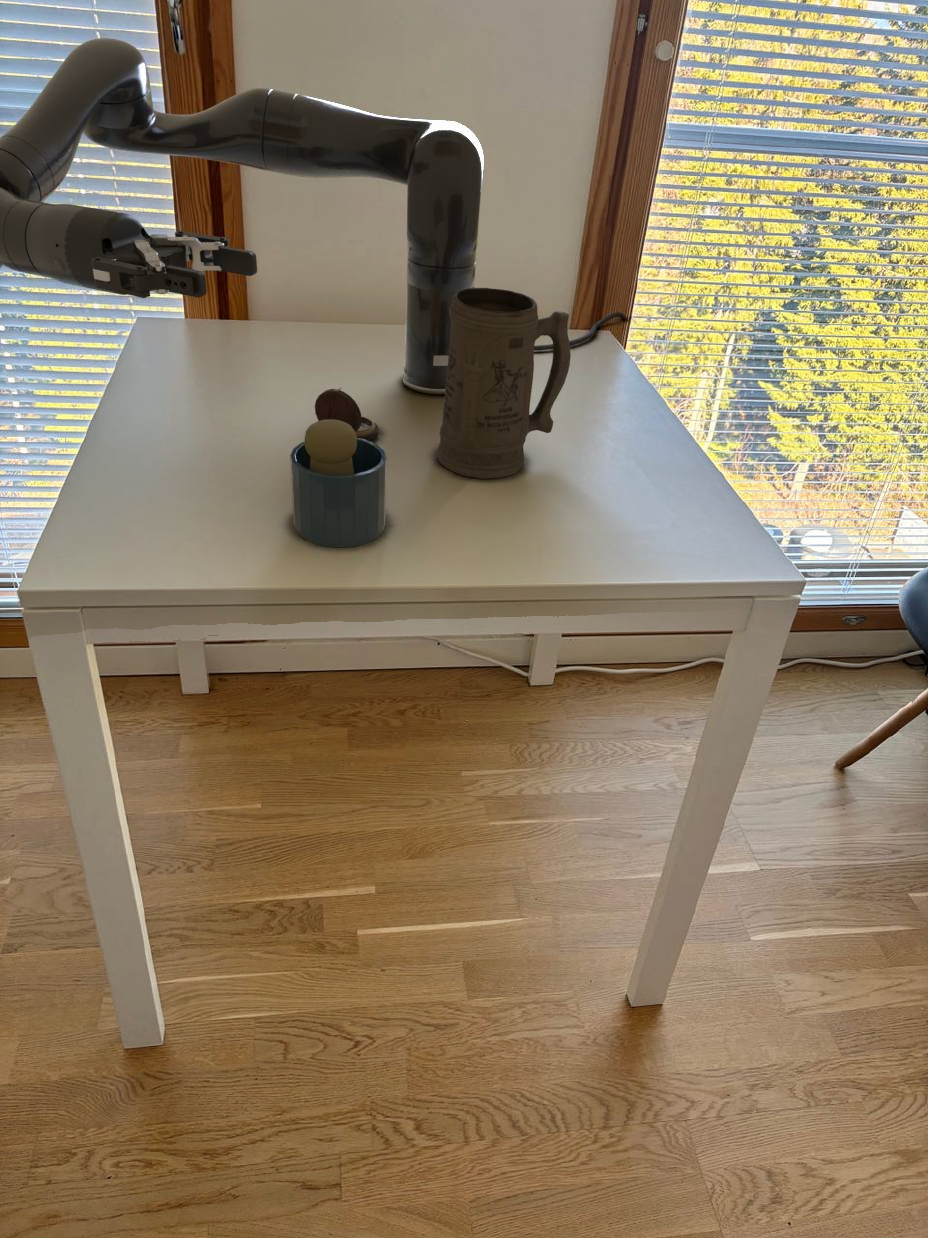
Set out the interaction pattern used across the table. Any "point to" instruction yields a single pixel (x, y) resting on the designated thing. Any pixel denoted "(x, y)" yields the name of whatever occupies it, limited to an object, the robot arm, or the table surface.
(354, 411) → the compass
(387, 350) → the table surface
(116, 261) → the robot arm
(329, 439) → the cork
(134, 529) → the table surface
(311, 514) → the tumbler
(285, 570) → the table surface
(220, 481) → the table surface
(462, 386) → the beer stein
